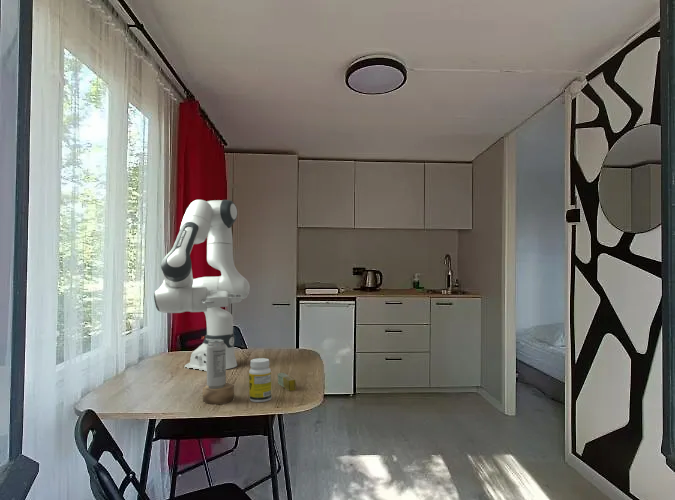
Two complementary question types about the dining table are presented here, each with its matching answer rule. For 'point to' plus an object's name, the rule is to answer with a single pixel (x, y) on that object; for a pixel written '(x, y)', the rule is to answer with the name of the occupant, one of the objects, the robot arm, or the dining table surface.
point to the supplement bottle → (260, 380)
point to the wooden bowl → (218, 394)
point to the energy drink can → (216, 364)
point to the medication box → (286, 381)
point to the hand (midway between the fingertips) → (241, 297)
